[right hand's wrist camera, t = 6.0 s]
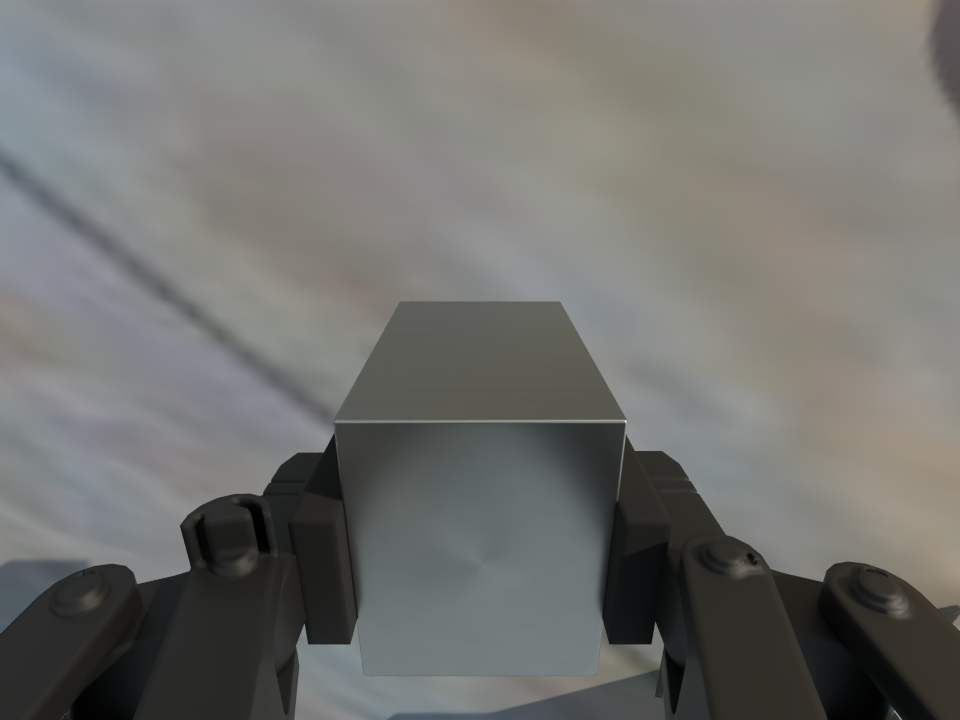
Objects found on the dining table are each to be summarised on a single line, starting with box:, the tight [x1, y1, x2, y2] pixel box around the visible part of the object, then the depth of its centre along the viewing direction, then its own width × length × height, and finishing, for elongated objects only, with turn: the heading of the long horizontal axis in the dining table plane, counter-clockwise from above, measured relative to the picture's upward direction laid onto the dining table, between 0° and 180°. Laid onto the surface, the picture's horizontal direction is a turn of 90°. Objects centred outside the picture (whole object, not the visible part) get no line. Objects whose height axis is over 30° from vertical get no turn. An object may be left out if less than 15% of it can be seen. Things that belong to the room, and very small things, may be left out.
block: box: [333, 302, 627, 676], centre depth 12 cm, size 5×6×7 cm
